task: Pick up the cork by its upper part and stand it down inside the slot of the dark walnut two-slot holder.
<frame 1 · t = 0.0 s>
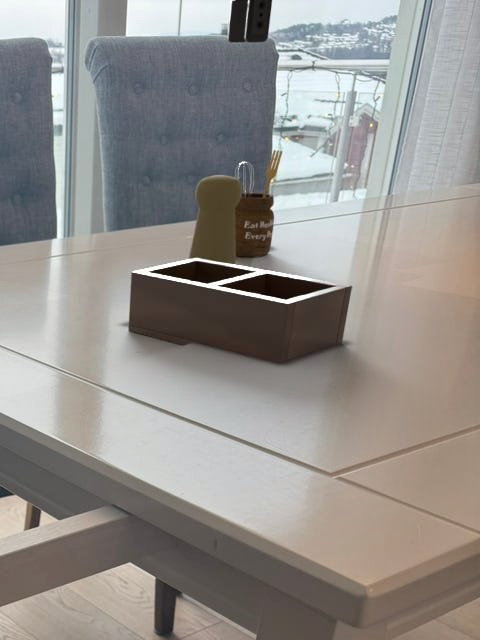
hand: (246, 42, 96), 24 cm above the table, tool pointing down, fingers open, 8 cm apart
utensil holder: (247, 254, 124), on the table
cork: (210, 278, 112), on the table
holder: (230, 339, 89), on the table
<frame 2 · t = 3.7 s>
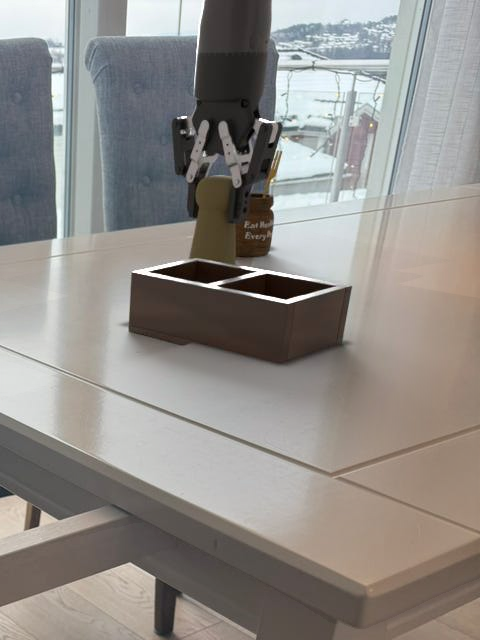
hand: (215, 219, 109), 6 cm above the table, tool pointing down, fingers closed on cork, 5 cm apart
cork: (210, 278, 112), on the table, touching gripper
everything else where it was.
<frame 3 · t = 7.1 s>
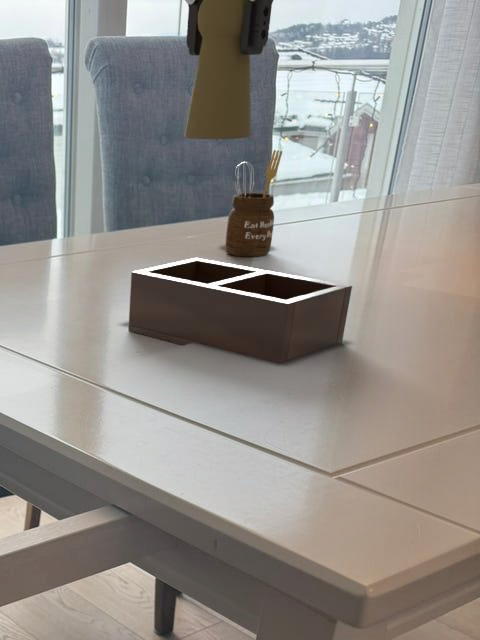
hand: (224, 53, 82), 23 cm above the table, tool pointing down, fingers closed on cork, 5 cm apart
cork: (216, 138, 86), point 17 cm above the table, touching gripper
everything else where it was.
when the fingers open (7 cm above the table, at t = 10.4 s): cork stays where it is, resting on holder.
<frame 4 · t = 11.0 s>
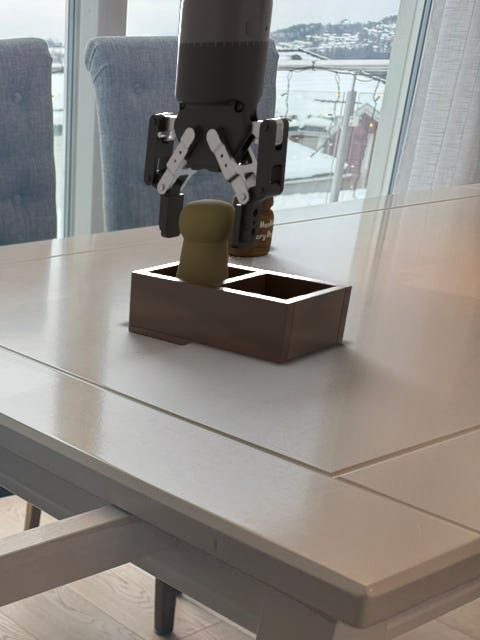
hand: (204, 242, 88), 8 cm above the table, tool pointing down, fingers open, 8 cm apart
cork: (197, 324, 92), point 1 cm above the table, touching holder
everything else where it was.
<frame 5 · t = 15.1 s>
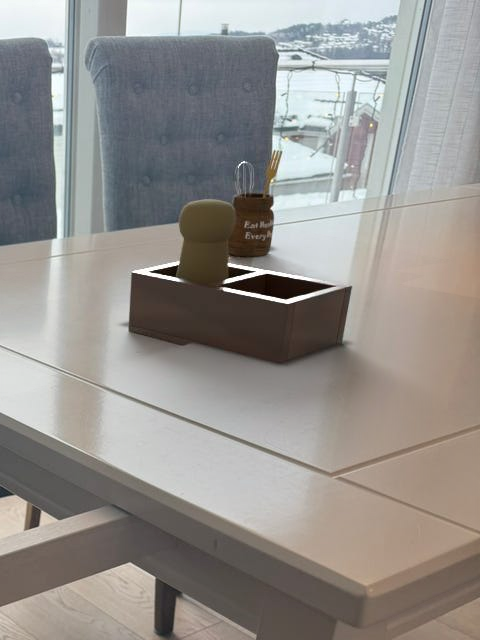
nothing on the table moved.
at the end: cork 0.0 cm from the target spot in the holder, point 0.6 cm above the holder's base; cork tilted 0°; the gripper is holding nothing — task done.
